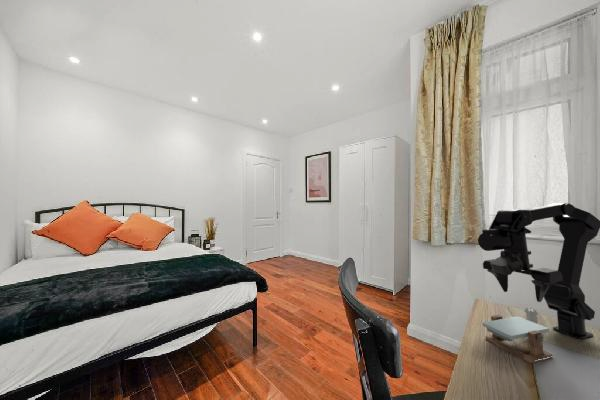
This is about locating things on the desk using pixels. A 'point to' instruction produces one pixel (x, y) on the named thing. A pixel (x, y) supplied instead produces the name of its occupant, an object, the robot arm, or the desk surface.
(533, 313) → the rook chess piece
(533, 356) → the flap frame
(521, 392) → the desk surface
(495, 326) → the pivoting flap
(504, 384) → the desk surface
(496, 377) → the desk surface
